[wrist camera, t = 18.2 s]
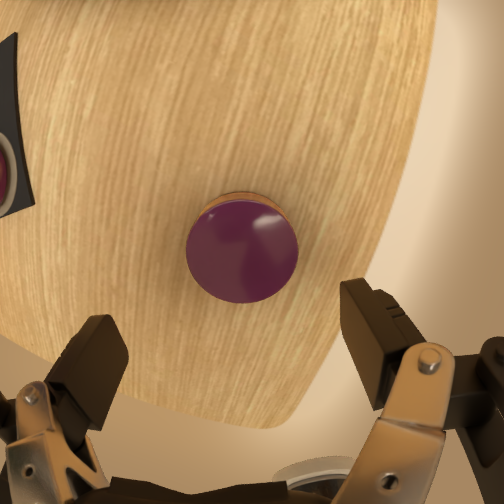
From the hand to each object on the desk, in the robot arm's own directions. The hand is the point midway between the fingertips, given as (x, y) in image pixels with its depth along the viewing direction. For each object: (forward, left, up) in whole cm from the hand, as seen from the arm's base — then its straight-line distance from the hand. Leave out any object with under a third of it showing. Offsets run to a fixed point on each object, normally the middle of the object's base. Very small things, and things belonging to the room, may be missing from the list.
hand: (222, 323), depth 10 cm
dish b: (0, -1, -9) cm, 9 cm away
